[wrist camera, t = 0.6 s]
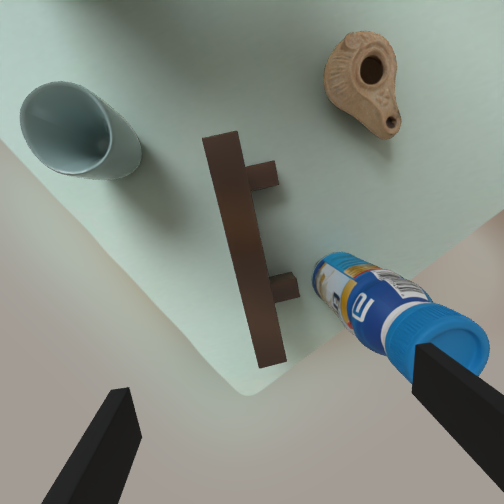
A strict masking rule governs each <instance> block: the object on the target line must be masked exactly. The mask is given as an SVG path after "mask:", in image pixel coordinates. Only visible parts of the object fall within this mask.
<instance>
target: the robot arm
mask: <svg viewBox="0 0 504 504" xmlns="http://www.w3.org/2000/svg"><path fill="white" fill-rule="evenodd" d="M412 394H413V395H414V396H415V397H416V398H417V399H418V400H419V401H420V402H421V403H422V405H423V406H424V407H425V408H426V409H427V410H428V411H429V412H430V413H431V414H432V415H433V417H434V418H435V419H436V420H437V421H438V422H439V423H440V424H441V425H442V426H443V427H444V428H445V430H447V432H448V433H449V434H450V435H451V436H452V437H453V438H454V439H455V440H456V441H457V442H458V444H459V445H460V446H461V447H462V448H463V449H464V450H465V451H466V452H467V453H468V454H469V455H470V456H471V457H472V459H473V460H474V461H475V462H476V463H477V464H478V465H479V466H480V467H481V468H482V469H483V471H484V472H485V473H486V474H487V475H488V476H489V477H490V478H491V479H492V480H493V481H494V482H495V483H496V485H497V486H498V487H499V488H500V489H501V490H502V491H503V492H504V395H503V394H501V393H500V392H498V391H497V390H496V389H494V388H493V387H492V386H490V385H489V384H488V383H486V382H485V381H483V380H482V379H481V378H479V377H478V376H476V375H475V374H474V373H472V372H471V371H470V370H468V369H467V368H465V367H464V366H463V365H461V364H460V363H459V362H457V361H456V360H454V359H453V358H452V357H450V356H449V355H448V354H446V353H445V352H443V351H442V350H441V349H439V348H438V347H436V346H435V345H434V344H432V343H431V342H430V343H423V344H416V345H415V356H414V369H413V382H412ZM141 439H142V435H141V431H140V427H139V423H138V420H137V416H136V412H135V408H134V404H133V401H132V396H131V393H130V389H129V387H127V388H121V389H114V390H111V391H110V392H109V394H108V395H107V397H106V399H105V400H104V402H103V404H102V405H101V407H100V409H99V410H98V412H97V413H96V415H95V417H94V418H93V420H92V422H91V423H90V425H89V427H88V428H87V430H86V431H85V433H84V435H83V436H82V438H81V440H80V442H79V443H78V445H77V446H76V448H75V449H74V451H73V453H72V454H71V456H70V457H69V459H68V461H67V462H66V464H65V466H64V467H63V469H62V471H61V472H60V474H59V476H58V477H57V479H56V480H55V482H54V484H53V485H52V487H51V489H50V490H49V492H48V493H47V495H46V497H45V498H44V500H43V502H42V504H118V502H119V499H120V497H121V494H122V491H123V488H124V486H125V483H126V480H127V477H128V475H129V472H130V469H131V466H132V463H133V460H134V458H135V455H136V452H137V450H138V447H139V444H140V441H141Z"/></svg>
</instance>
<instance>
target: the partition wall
mask: <svg viewBox="0 0 504 504" xmlns="http://www.w3.org/2000/svg"><path fill="white" fill-rule="evenodd" d="M202 141H203V145H204V149H205V153H206V157H207V161H208V165H209V169H210V173H211V177H212V181H213V185H214V189H215V193H216V197H217V201H218V205H219V209H220V213H221V217H222V222H223V226H224V230H225V234H226V238H227V242H228V246H229V250H230V254H231V258H232V262H233V266H234V270H235V274H236V278H237V282H238V286H239V290H240V294H241V298H242V302H243V306H244V310H245V314H246V318H247V322H248V326H249V330H250V334H251V338H252V342H253V346H254V350H255V354H256V358H257V362H258V366H259V368H264V367H268V366H272V365H275V364H279V363H283V362H287V359H286V354H285V350H284V345H283V340H282V336H281V331H280V326H279V322H278V317H277V312H276V308H275V303H277V302H281V301H285V300H290V299H294V298H298V297H300V294H299V289H298V284H297V278H296V277H295V276H294V275H293V273H292V272H288V273H284V274H280V275H276V276H272V277H269V275H268V271H267V266H266V261H265V257H264V252H263V247H262V243H261V238H260V233H259V229H258V224H257V219H256V215H255V210H254V205H253V201H252V196H251V192H250V191H254V190H259V189H263V188H268V187H272V186H276V185H279V181H278V176H277V171H276V165H275V161H270V162H265V163H261V164H256V165H252V166H247V167H245V164H244V159H243V154H242V150H241V145H240V140H239V136H238V131H233V132H228V133H223V134H219V135H214V136H209V137H205V138H202Z"/></svg>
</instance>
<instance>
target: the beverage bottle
mask: <svg viewBox="0 0 504 504" xmlns="http://www.w3.org/2000/svg"><path fill="white" fill-rule="evenodd" d="M312 285H313V288H314V290H315V292H316V294H317V295H318V296H319V297H320V298H321V299H322V300H323V301H324V302H326V304H327V305H328V306H329V307H330V308H331V309H332V310H333V311H334V312H335V313H336V314H337V316H338V317H339V318H340V319H341V321H342V323H343V325H344V326H345V327H346V328H347V329H348V330H349V331H350V332H351V333H352V334H353V335H355V336H356V337H357V338H358V340H359V341H360V342H361V343H362V344H363V345H364V346H366V347H367V348H369V349H370V350H372V351H375V352H376V353H379V354H381V355H384V356H387V357H388V359H389V360H390V362H391V363H392V364H393V365H394V366H395V367H396V368H397V370H398V371H399V372H400V373H401V374H403V376H404V377H405V378H406V379H407V380H408V381H409V382H410V383H411V384H412V382H413V369H414V356H415V345H416V344H423V343H430V342H431V343H432V344H434V345H435V346H436V347H438V348H439V349H441V350H442V351H443V352H445V353H446V354H448V355H449V356H450V357H452V358H453V359H454V360H456V361H457V362H459V363H460V364H461V365H463V366H464V367H465V368H467V369H468V370H470V371H471V372H472V373H474V374H475V375H476V376H479V375H480V374H481V372H482V371H483V369H484V367H485V365H486V363H487V360H488V357H489V351H490V345H489V340H488V337H487V335H486V333H485V331H484V330H483V329H482V328H481V327H480V326H479V325H478V324H477V323H475V322H474V321H472V320H471V319H469V318H468V317H466V316H464V315H461V314H460V313H458V312H456V311H454V310H452V309H449V308H447V307H445V306H443V305H440V304H436V303H433V301H432V299H431V298H430V297H429V295H428V294H427V293H426V292H425V291H424V290H423V289H422V288H421V287H420V286H418V285H417V284H415V283H413V282H412V281H409V280H406V279H404V278H403V277H401V276H400V275H398V274H396V273H394V272H392V271H390V270H386V269H382V268H380V267H377V266H375V265H373V264H370V263H368V262H366V261H364V260H361V259H359V258H357V257H355V256H353V255H351V254H349V253H345V252H335V253H331V254H328V255H327V256H325V257H323V258H322V259H321V260H320V261H319V262H318V263H317V265H316V266H315V268H314V271H313V274H312Z"/></svg>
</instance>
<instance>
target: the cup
mask: <svg viewBox="0 0 504 504" xmlns="http://www.w3.org/2000/svg"><path fill="white" fill-rule="evenodd" d="M20 125H21V130H22V133H23V136H24V138H25V140H26V142H27V144H28V146H29V148H30V149H31V151H32V152H33V153H34V155H35V156H36V157H37V158H38V159H39V160H40V161H41V162H42V163H43V164H44V165H46V166H47V167H48V168H50V169H52V170H54V171H56V172H58V173H61V174H64V175H68V176H72V177H78V178H85V179H93V180H115V179H120V178H123V177H126V176H128V175H130V174H131V173H133V172H134V171H135V170H136V169H137V167H138V166H139V164H140V162H141V158H142V149H141V145H140V142H139V139H138V137H137V135H136V133H135V132H134V130H133V128H132V127H131V126H130V125H129V123H128V122H127V121H126V120H125V119H124V118H123V117H122V116H121V115H120V114H119V113H118V112H117V111H115V110H114V109H113V108H112V107H111V106H110V105H108V104H107V103H106V102H105V101H103V100H102V99H101V98H99V97H98V96H97V95H95V94H94V93H93V92H91V91H89V90H88V89H86V88H84V87H83V86H81V85H78V84H75V83H72V82H64V81H58V82H51V83H47V84H44V85H42V86H40V87H38V88H36V89H35V90H33V91H32V92H31V93H30V94H29V95H28V96H27V97H26V99H25V100H24V102H23V104H22V107H21V109H20Z"/></svg>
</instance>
